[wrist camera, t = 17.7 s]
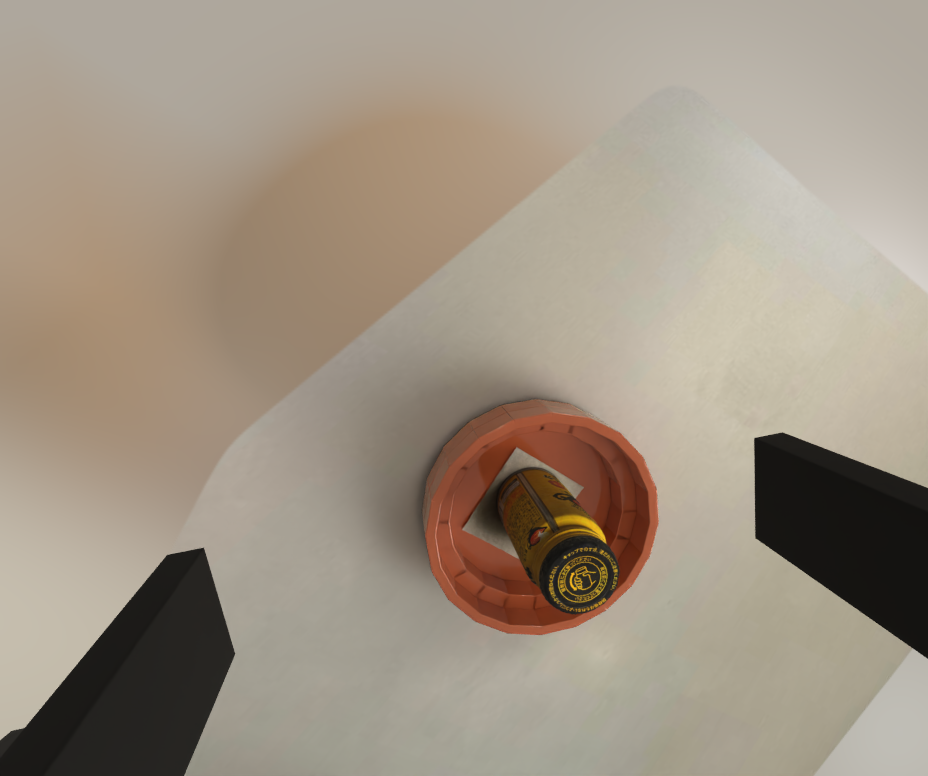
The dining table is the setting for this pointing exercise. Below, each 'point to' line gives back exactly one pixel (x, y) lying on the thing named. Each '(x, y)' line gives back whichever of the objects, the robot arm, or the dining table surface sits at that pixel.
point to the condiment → (547, 534)
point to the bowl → (603, 497)
